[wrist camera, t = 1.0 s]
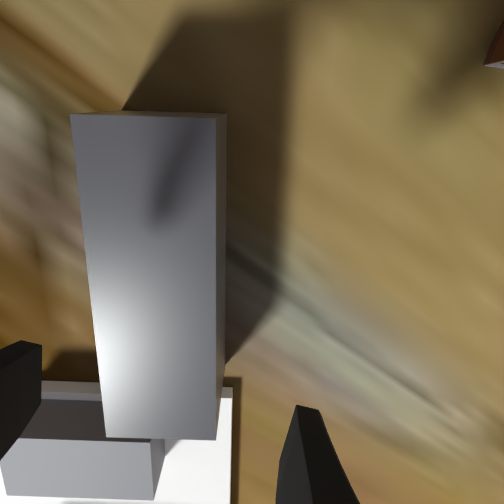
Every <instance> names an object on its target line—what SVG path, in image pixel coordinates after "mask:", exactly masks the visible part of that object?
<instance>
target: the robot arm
mask: <svg viewBox="0 0 504 504" xmlns="http://www.w3.org/2000/svg"><path fill="white" fill-rule="evenodd" d="M41 390H42V345H39V344H35V343H31V342H26V341H22V340H20V341H18V342H16V343H13V344H11V345H9V346H7V347H4V348H2V349H0V461H1V459H2V458H3V457H4V456H5V454H6V453H7V452H8V451H9V449H10V448H11V447H12V446H13V444H14V443H15V442H16V441H17V439H18V438H19V437H20V436H21V434H22V432H23V431H24V429H25V428H26V426H27V425H28V423H29V422H30V420H31V419H32V417H33V415H34V414H35V412H36V411H37V409H38V407H39V406H40V404H41ZM276 504H360V503H359V501H358V499H357V497H356V495H355V493H354V491H353V489H352V487H351V485H350V483H349V480H348V478H347V476H346V474H345V472H344V470H343V468H342V465H341V463H340V461H339V459H338V456H337V454H336V452H335V449H334V447H333V445H332V442H331V440H330V437H329V435H328V432H327V429H326V427H325V424H324V421H323V419H322V416H321V413H320V412H319V410H317V409H312V408H308V407H304V406H300V405H296V407H295V411H294V414H293V417H292V420H291V424H290V427H289V430H288V434H287V437H286V440H285V444H284V447H283V450H282V454H281V457H280V461H279V471H278V480H277V491H276Z"/></svg>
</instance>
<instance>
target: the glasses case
mask: <svg viewBox="0 0 504 504" xmlns="http://www.w3.org/2000/svg"><path fill="white" fill-rule="evenodd" d="M70 121H71V130H72V139H73V147H74V156H75V165H76V174H77V183H78V191H79V200H80V209H81V218H82V227H83V236H84V244H85V253H86V262H87V271H88V280H89V289H90V297H91V306H92V315H93V324H94V333H95V342H96V350H97V359H98V368H99V377H100V386H101V395H102V403H103V412H104V421H105V430H106V437H116V438H148V439H180V440H212V441H216V436H217V428H218V420H219V412H220V403H221V395H222V387H223V379H224V370H225V321H226V196H227V113H195V112H162V111H130V110H118V111H104V112H91V113H77V114H70Z"/></svg>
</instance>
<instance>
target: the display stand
mask: <svg viewBox="0 0 504 504" xmlns="http://www.w3.org/2000/svg"><path fill="white" fill-rule="evenodd" d="M232 400H233V387H222V395H221V403H220V412H219V420H218V428H217V436H216V441H212V440H180V439H148V438H116V437H106V430H105V421H104V412H103V403H102V395H101V386H100V383H98V382H69V381H42V390H41V404H40V406H39V407H38V409H37V411H36V412H35V414H34V415H33V417H32V419H31V420H30V422H29V423H28V425H27V426H26V428H25V429H24V431H23V432H22V434H21V436H20V437H19V438H18V439H17V441H16V442H15V443H14V444H13V446H12V447H11V448H10V449H9V451H8V452H7V453H6V454H5V456H4V457H3V458H2V459H1V461H0V504H230V497H231V449H232Z"/></svg>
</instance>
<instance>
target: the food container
mask: <svg viewBox="0 0 504 504" xmlns="http://www.w3.org/2000/svg"><path fill="white" fill-rule="evenodd" d="M483 66H489V67H495V68H502V69H504V22H503V24H502V25H501V26H500V28H499V30H498V32H497V34H496V36H495V38H494V40H493V42H492V43H491V45H490V48H489V51H488V53H487V56H486V59H485V62H484V64H483Z"/></svg>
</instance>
